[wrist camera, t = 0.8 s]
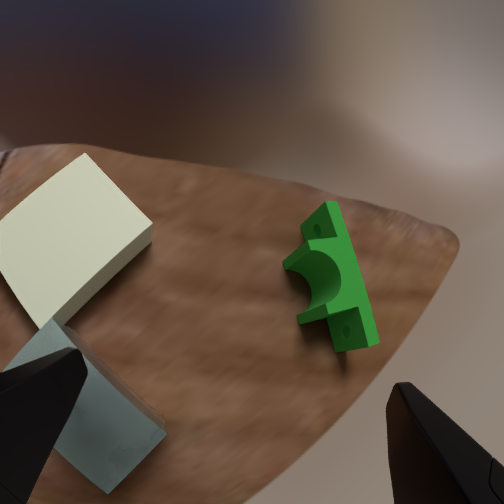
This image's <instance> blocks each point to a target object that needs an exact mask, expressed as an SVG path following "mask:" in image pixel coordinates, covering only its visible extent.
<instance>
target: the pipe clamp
mask: <svg viewBox="0 0 504 504" xmlns="http://www.w3.org/2000/svg"><path fill="white" fill-rule="evenodd" d="M301 229H302V233H303V236H304V239H305V243H304V244H303V245H301V246H300V247H299V248H298V249H297V250H295V251H294V252H293V253H292V254H291V255H290V256H288V257H287V258H286V259H285V260H284V261H283V265H284V268H285V270H293V271H296V272H298V273H300V274H301V275H302V276H303V277H304V278H305V279H306V280H307V281H308V283H309V285H310V288H311V293H312V298H311V302H310V305H309V307H308V308H307V310H306V311H304V312H303V313H301V314H299V315H297V319H298V323H299V324H303V323H308V322H312V321H316V320H319V319H323V318H327V322H328V326H329V330H330V334H331V338H332V342H333V346H334V350H335V353H336V352H342V351H348V350H354V349H360V348H366V347H370V346H373V345H375V344H378V343H380V341H379V337H378V333H377V329H376V325H375V321H374V317H373V314H372V310H371V306H370V303H369V299H368V296H367V292H366V289H365V285H364V282H363V278H362V275H361V272H360V269H359V265H358V262H357V259H356V256H355V253H354V250H353V246H352V243H351V240H350V237H349V234H348V231H347V229H346V226H345V223H344V220H343V217H342V214H341V211H340V209H339V206H338V203H337V201H325V202H324V203H323V204H322V205H321V206H320V207H319V208H318V209H317V210H316V211H315V212H314V213H313V214H312V215H311V216H310V217H309V218H308V219H307V220H306V221H305V222H304V223H303V224H302V225H301Z"/></svg>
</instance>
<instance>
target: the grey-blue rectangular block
mask: <svg viewBox="0 0 504 504" xmlns="http://www.w3.org/2000/svg"><path fill="white" fill-rule="evenodd" d="M66 347H73V348H77V349H79V350H80V351H81V353H82V355H83V358H84V361H85V363H86V366H87V369H88V376H87V378H86V381H85V383H84V385H83V387H82V390H81V392H80V394H79V397H78V399H77V401H76V404H75V406H74V408H73V411H72V413H71V415H70V417H69V419H68V420H67V422H66V424H65V426H64V428H63V430H62V432H61V434H60V435H59V437H58V439H57V441H56V443H55V445H54V448H55V449H56V450H57V451H58V452H59V453H60V454H61V455H62V456H63V457H64V458H65V459H66V460H67V461H68V462H69V463H71V464H72V465H73V466H74V467H75V468H76V469H77V470H78V471H80V472H81V473H82V474H83V475H84V476H85V477H87V478H88V479H89V480H90V481H91V482H93V483H94V484H95V485H96V486H98V487H99V488H100V489H101V490H103V491H104V492H105V493H106V494H109V493H110V492H111V491H112V490H113V489H114V488H115V487H116V486H117V485H118V484H119V483H120V482H121V481H122V480H123V479H124V478H125V477H126V476H127V475H128V474H129V473H130V472H131V471H132V470H133V469H134V468H135V467H136V466H137V465H138V464H139V463H140V462H141V461H142V460H143V459H144V458H145V457H146V456H147V455H148V454H149V453H150V452H151V451H152V450H153V449H154V448H155V446H156V445H157V444H158V443H159V442H160V441H161V440H162V439H163V438H164V437H165V436H166V435H167V430H166V426H165V422H164V418H163V415H161V414H160V413H159V412H158V411H157V410H156V409H154V408H153V407H152V406H151V405H150V404H149V403H147V402H146V401H145V400H144V399H143V398H142V397H141V396H140V395H139V394H137V393H136V392H135V391H134V390H133V389H132V388H131V387H130V386H129V385H128V384H127V383H126V382H125V381H124V380H123V379H122V378H121V377H119V376H118V375H117V374H116V373H115V372H114V371H113V370H112V369H111V368H110V367H109V366H108V364H107V363H106V362H105V361H104V360H103V359H102V358H101V357H100V356H99V355H98V354H97V353H96V352H95V351H94V350H93V349H92V348H91V346H90V345H89V344H88V343H87V342H86V341H85V340H84V339H83V338H82V336H81V335H80V334H79V333H78V332H77V331H75V330H73V329H71V328H70V327H68V326H66V325H64V324H62V323H61V322H59V321H57V320H55V319H54V318H52V317H51V318H50V319H49V320H48V321H47V322H46V324H45V325H44V326H43V327H42V328H41V329H40V330H39V331H38V332H37V333H36V334H35V335H34V336H33V337H32V338H31V340H30V341H29V342H28V343H27V344H26V345H25V346H24V347H23V348H22V349H21V351H20V352H19V353H18V354H17V355H16V356H15V357H14V358H13V360H12V361H11V362H10V363H9V364H8V365H7V367H6V368H5V369H4V370H3V371H2V372H4V371H6V370H9V369H12V368H14V367H17V366H20V365H22V364H25V363H27V362H30V361H33V360H35V359H38V358H40V357H43V356H45V355H48V354H51V353H53V352H56V351H58V350H61V349H63V348H66Z"/></svg>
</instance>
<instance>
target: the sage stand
mask: <svg viewBox="0 0 504 504" xmlns="http://www.w3.org/2000/svg"><path fill="white" fill-rule="evenodd" d="M152 228H153V223H152V222H151V221H150V220H149V219H148V218H147V217H146V216H145V215H144V214H143V213H142V212H141V211H140V210H139V209H138V208H137V207H136V206H135V205H134V204H133V203H132V202H131V201H130V200H129V199H128V198H127V196H126V195H125V194H124V193H123V192H122V191H121V190H120V189H119V188H118V187H117V186H116V185H115V184H114V183H113V182H112V181H111V180H110V179H109V178H108V177H107V176H106V175H105V173H104V172H103V171H102V170H101V169H100V168H99V167H98V166H97V165H96V164H95V163H94V162H93V161H92V160H91V158H90V157H89V156H88V155H87V154H86V153H84V154H83V155H81V156H80V157H78V158H77V159H75V160H74V161H73V162H71V163H70V164H69V165H67V166H66V167H64V168H63V169H62V170H60V171H59V172H58V173H56V174H55V175H54V176H53V177H51V178H50V179H49V180H47V181H46V182H45V183H44V184H42V185H41V186H40V187H39V188H37V189H36V190H35V191H34V192H33V193H31V194H30V195H29V196H28V197H27V198H25V199H24V200H23V201H22V202H21V203H20V204H18V205H17V206H16V207H15V208H14V209H13V210H12V211H11V212H10V213H8V214H7V215H6V216H5V217H4V218H3V219H2V220H1V221H0V271H1V273H2V275H3V276H4V278H5V280H6V281H7V283H8V284H9V286H10V287H11V289H12V291H13V292H14V294H15V295H16V297H17V298H18V300H19V301H20V303H21V304H22V305H23V307H24V308H25V310H26V311H27V313H28V314H29V315H30V317H31V318H32V320H33V321H34V322H35V324H36V325H37V326H38V328H39V329H41V328H42V327H43V326H44V325H45V324H46V322H47V321H48V320H49V319H50V318H51V317H52V318H54V319H55V320H57V321H59V322H61V323H62V324H64V325H65V323H66V322H67V321H68V320H69V319H70V318H71V317H72V316H73V315H74V314H75V313H76V312H77V311H78V310H79V309H80V308H81V307H82V306H83V305H84V304H85V303H86V302H87V301H88V300H89V299H90V298H91V297H92V296H94V295H95V294H96V293H97V292H98V291H99V290H100V289H101V288H102V287H103V286H104V285H105V284H106V283H107V282H108V281H109V280H110V279H111V278H112V277H113V276H114V275H116V274H117V273H118V272H119V271H120V270H121V269H122V268H123V267H124V266H125V265H126V264H127V263H129V262H130V261H131V260H132V259H133V258H134V257H135V256H136V255H137V254H138V253H140V252H141V251H142V250H143V249H144V248H145V247H146V246H147V245H148V244H150V243H151V242H152Z"/></svg>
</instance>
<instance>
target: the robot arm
mask: <svg viewBox="0 0 504 504" xmlns="http://www.w3.org/2000/svg"><path fill="white" fill-rule="evenodd" d="M87 376H88V369H87V366H86V363H85V361H84V358H83V355H82V353H81V351H80V350H79V349H77V348H73V347H66V348H63V349H61V350H58V351H56V352H53V353H51V354H48V355H45V356H43V357H40V358H38V359H35V360H33V361H30V362H27V363H25V364H22V365H20V366H17V367H14V368H12V369H9V370H6V371H4V372H1V373H0V504H27V501H28V499H29V497H30V495H31V492H32V490H33V488H34V486H35V484H36V482H37V479H38V477H39V475H40V473H41V471H42V469H43V467H44V465H45V463H46V461H47V459H48V457H49V455H50V453H51V451H52V449H53V447H54V445H55V443H56V441H57V439H58V437H59V435H60V434H61V432H62V430H63V428H64V426H65V424H66V422H67V420H68V419H69V417H70V415H71V413H72V411H73V408H74V406H75V404H76V401H77V399H78V397H79V394H80V392H81V390H82V387H83V385H84V383H85V381H86V378H87ZM386 421H387V439H388V459H389V468H390V474H391V481H392V488H393V497H394V504H504V466H503V465H502V464H501V463H499V462H498V461H497V460H496V459H495V458H492V456H491V455H490V454H489V453H488V452H487V451H486V450H485V449H484V448H483V447H482V446H481V445H479V444H478V443H477V442H476V441H475V440H474V439H473V438H472V437H471V436H469V435H468V434H467V433H466V432H465V431H464V430H463V429H462V428H461V427H460V426H458V425H457V424H456V423H455V422H454V421H453V420H452V419H451V418H450V417H449V416H447V415H446V414H445V413H444V412H443V411H442V410H441V409H440V408H439V407H437V406H436V405H435V404H434V403H433V402H432V401H431V400H430V399H428V398H427V397H426V396H425V395H424V394H423V393H422V392H421V391H420V390H418V389H417V388H416V387H415V386H414V385H413V384H412V383H410V382H400V383H396V384H395V385H394V387H393V389H392V392H391V394H390V397H389V400H388V402H387V406H386Z"/></svg>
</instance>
